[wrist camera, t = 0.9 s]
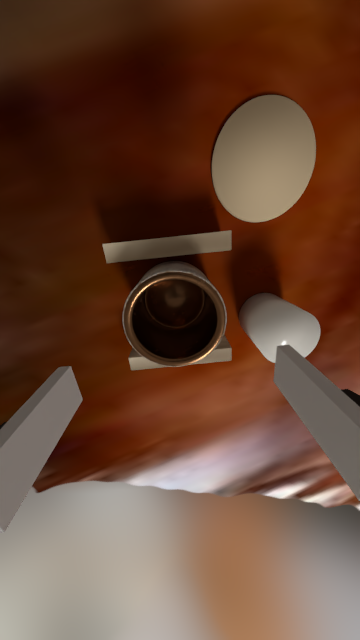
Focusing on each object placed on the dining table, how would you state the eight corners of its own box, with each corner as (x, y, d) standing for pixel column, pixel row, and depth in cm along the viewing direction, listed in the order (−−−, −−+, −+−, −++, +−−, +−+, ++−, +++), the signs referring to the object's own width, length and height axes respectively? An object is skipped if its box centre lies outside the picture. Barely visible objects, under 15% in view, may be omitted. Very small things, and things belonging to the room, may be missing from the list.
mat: (209, 104, 21) (210, 101, 21) (321, 91, 21) (324, 88, 20) (213, 227, 25) (213, 226, 25) (305, 217, 25) (307, 216, 25)
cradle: (115, 243, 26) (102, 244, 21) (221, 232, 26) (231, 230, 21) (137, 351, 32) (131, 370, 27) (223, 343, 32) (231, 360, 27)
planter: (203, 251, 27) (218, 255, 18) (217, 322, 31) (234, 356, 22) (127, 271, 27) (104, 285, 18) (150, 338, 31) (140, 377, 22)
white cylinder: (239, 295, 29) (261, 313, 22) (286, 290, 29) (325, 307, 21) (238, 337, 32) (258, 366, 24) (281, 333, 31) (315, 361, 24)
